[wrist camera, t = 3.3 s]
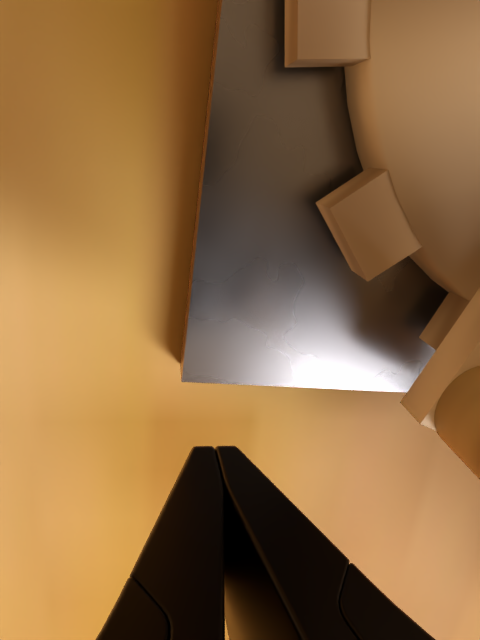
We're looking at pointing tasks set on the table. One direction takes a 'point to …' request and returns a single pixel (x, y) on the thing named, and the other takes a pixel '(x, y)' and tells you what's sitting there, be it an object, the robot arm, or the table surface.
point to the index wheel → (411, 174)
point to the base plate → (287, 232)
